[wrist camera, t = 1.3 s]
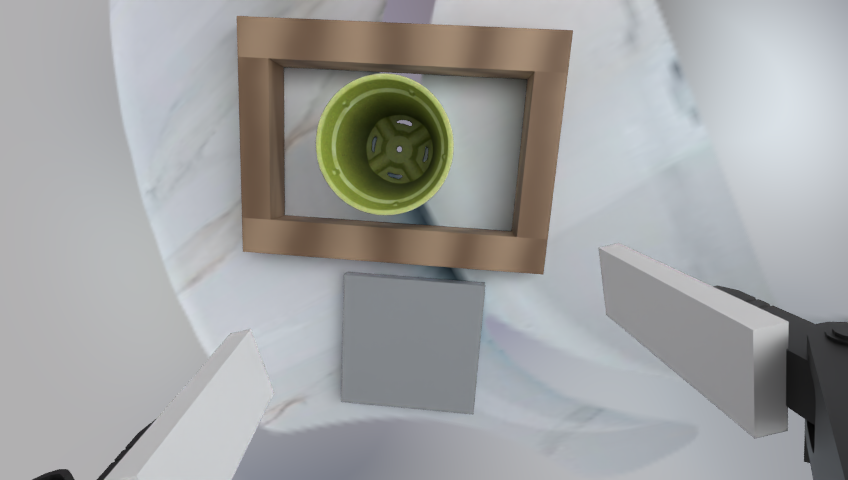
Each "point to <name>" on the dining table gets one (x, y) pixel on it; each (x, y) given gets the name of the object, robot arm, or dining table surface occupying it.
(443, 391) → the slate coaster
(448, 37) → the open rectangular wooden frame
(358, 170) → the plant pot
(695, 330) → the robot arm
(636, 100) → the dining table surface
